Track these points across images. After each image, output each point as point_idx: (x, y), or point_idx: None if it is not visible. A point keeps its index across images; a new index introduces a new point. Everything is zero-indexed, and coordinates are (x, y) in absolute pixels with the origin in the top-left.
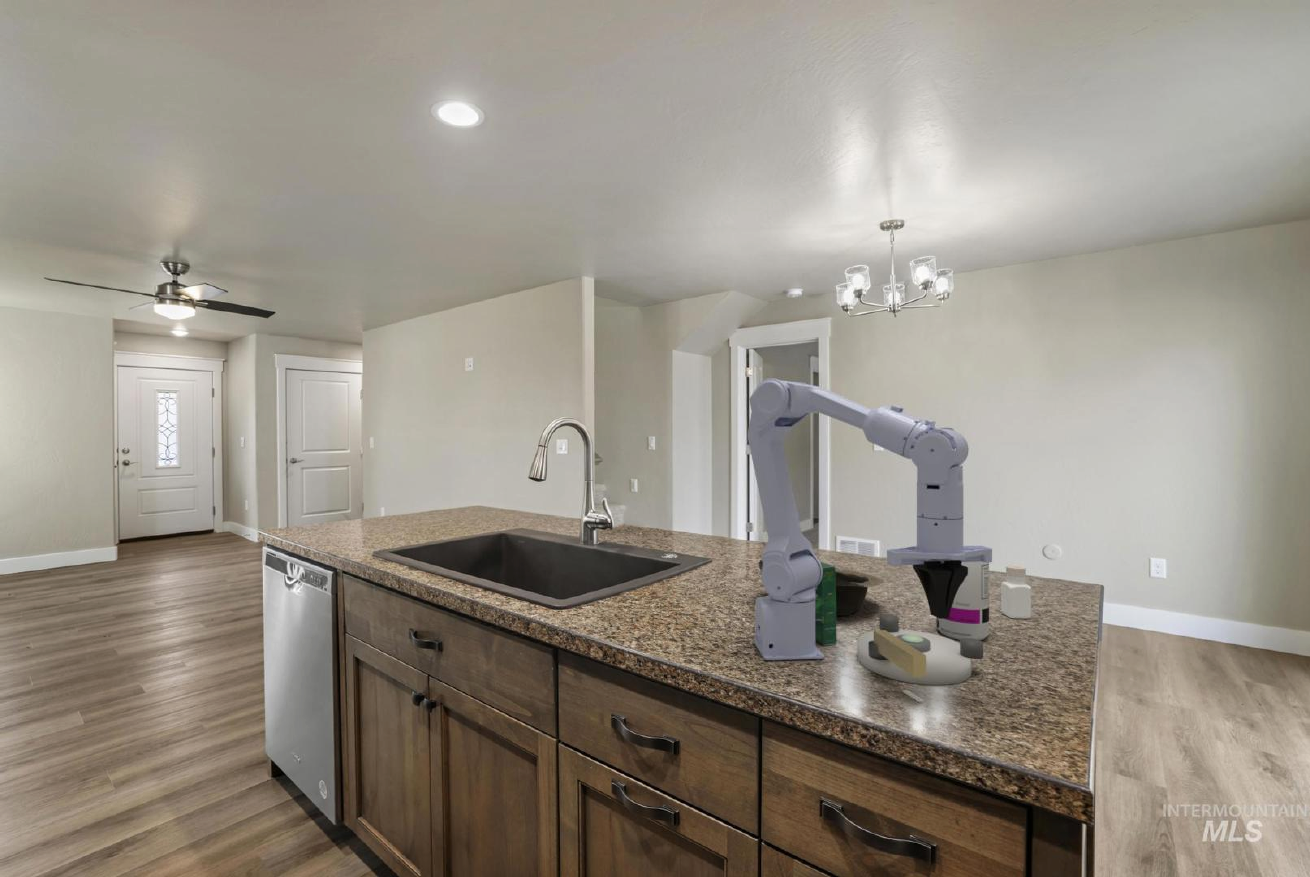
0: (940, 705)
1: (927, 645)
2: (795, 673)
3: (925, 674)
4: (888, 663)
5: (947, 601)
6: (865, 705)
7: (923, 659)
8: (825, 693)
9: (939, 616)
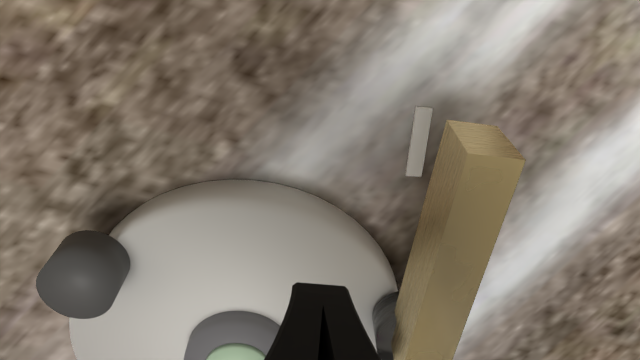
0: (380, 75)
1: (218, 327)
2: (599, 333)
3: (450, 123)
4: (392, 284)
5: (317, 346)
6: (589, 137)
7: (476, 147)
8: (627, 225)
9: (350, 296)
